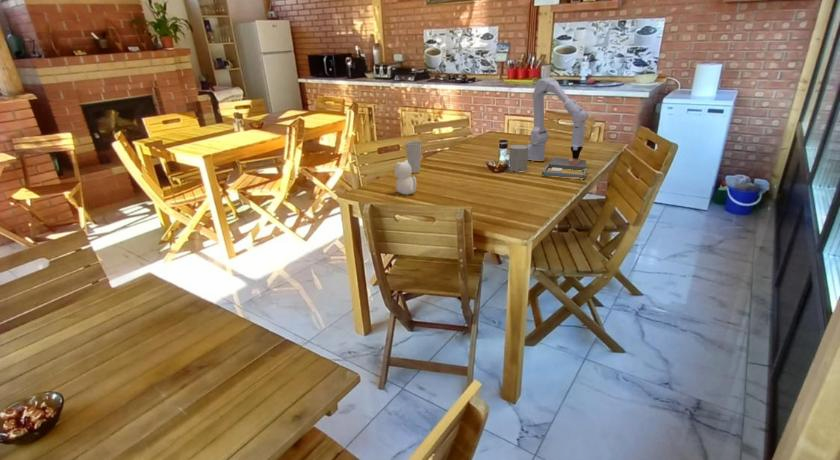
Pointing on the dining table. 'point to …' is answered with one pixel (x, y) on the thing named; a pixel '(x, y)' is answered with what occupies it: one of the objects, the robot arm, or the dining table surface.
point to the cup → (414, 155)
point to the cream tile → (557, 170)
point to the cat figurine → (405, 178)
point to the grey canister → (518, 157)
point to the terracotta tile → (574, 161)
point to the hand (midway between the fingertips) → (575, 160)
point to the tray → (562, 173)
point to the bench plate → (566, 164)
